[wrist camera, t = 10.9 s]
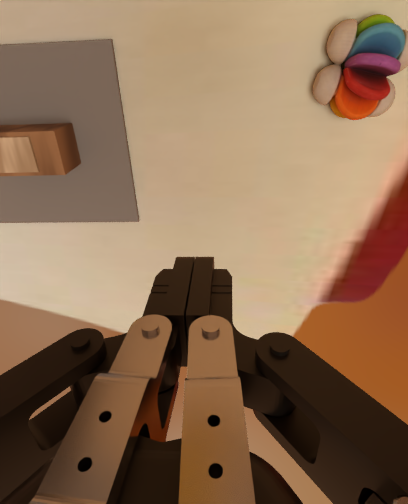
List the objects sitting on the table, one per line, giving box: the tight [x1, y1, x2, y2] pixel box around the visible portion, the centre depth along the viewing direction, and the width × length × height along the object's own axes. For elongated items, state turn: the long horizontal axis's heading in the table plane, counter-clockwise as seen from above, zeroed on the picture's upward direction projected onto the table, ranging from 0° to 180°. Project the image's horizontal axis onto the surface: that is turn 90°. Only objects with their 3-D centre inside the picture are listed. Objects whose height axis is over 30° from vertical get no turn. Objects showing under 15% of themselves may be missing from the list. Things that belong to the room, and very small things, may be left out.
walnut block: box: [0, 123, 81, 176], centre depth 41 cm, size 5×5×12 cm
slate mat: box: [0, 39, 139, 223], centre depth 44 cm, size 22×22×1 cm
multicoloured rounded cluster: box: [313, 14, 408, 120], centre depth 34 cm, size 8×10×7 cm
